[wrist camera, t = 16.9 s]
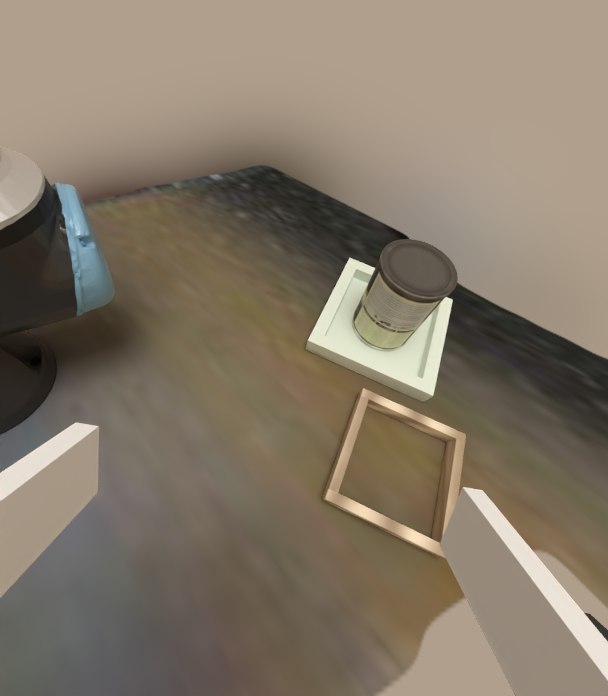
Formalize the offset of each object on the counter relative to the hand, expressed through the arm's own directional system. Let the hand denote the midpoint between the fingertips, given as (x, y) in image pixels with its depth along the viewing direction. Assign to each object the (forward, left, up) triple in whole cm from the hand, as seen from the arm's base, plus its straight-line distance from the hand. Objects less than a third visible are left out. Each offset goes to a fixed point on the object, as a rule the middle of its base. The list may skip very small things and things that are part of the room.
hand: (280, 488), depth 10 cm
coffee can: (+6, +31, -28) cm, 42 cm away
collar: (+14, +10, -29) cm, 33 cm away
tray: (+6, +31, -29) cm, 43 cm away
